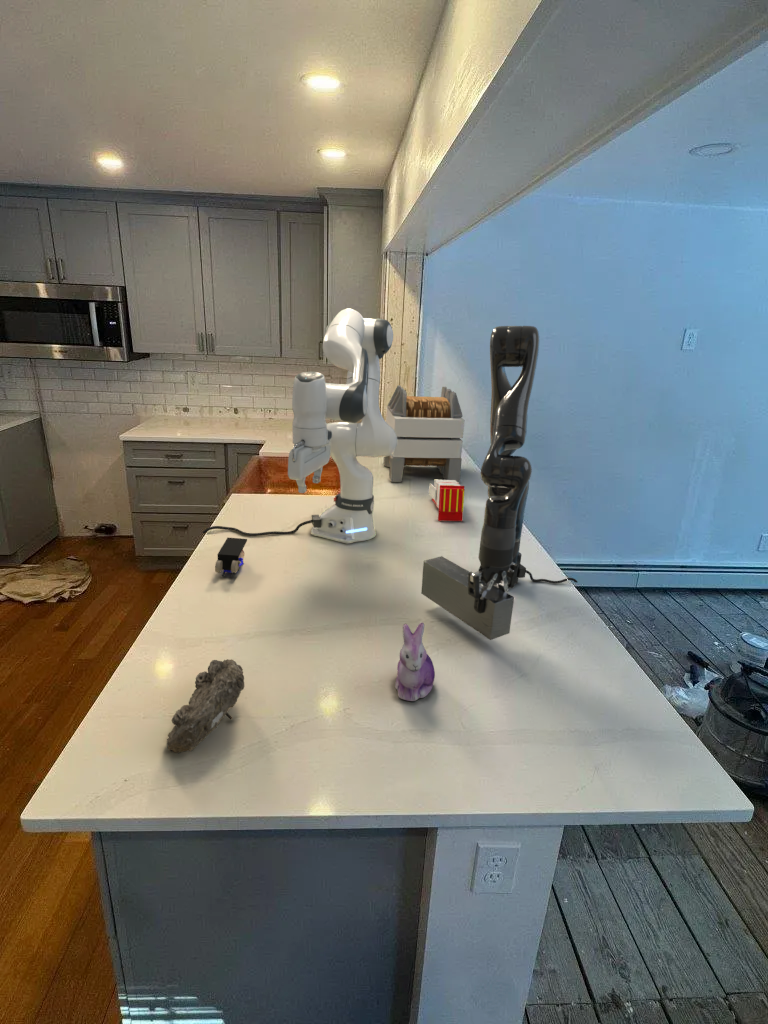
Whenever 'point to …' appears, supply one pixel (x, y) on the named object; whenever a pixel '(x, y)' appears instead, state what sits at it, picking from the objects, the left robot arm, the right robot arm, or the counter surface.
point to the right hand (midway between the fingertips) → (489, 608)
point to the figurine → (414, 666)
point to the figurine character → (230, 556)
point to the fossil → (206, 705)
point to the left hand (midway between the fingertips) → (309, 487)
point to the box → (466, 598)
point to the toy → (448, 499)
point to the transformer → (425, 433)
